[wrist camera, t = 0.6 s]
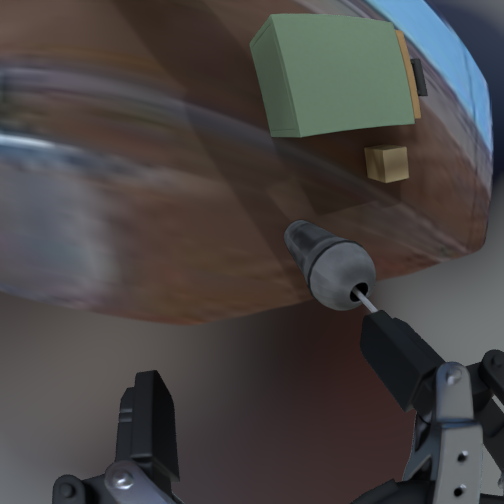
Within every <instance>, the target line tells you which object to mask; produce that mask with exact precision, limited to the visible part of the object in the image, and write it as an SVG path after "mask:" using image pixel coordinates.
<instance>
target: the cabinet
mask: <svg viewBox="0 0 504 504" xmlns="http://www.w3.org/2000/svg"><path fill="white" fill-rule="evenodd" d="M249 45H250V49H251V53H252V57H253V61H254V65H255V69H256V73H257V77H258V81H259V85H260V89H261V94H262V98H263V102H264V106H265V111H266V115H267V120H268V124H269V129H270V133H271V137H306V136H312V135H318V134H325V133H331V132H338V131H346V130H353V129H362V128H371V127H381V126H392V125H405V124H415V121H414V114H413V107H412V101H411V96H410V90H409V85H408V80H407V75H406V71H405V67H404V62H403V58H402V54H401V51H400V47H399V43H398V40H397V36H396V33H395V30H394V26H393V23H390V22H385V21H379V20H373V19H366V18H358V17H349V16H338V15H323V14H273V15H270V17H269V18H268V19H267V20H266V22H265V23H264V24H263V26H262V27H261V28H260V30H259V31H258V32H257V34H256V35H255V37H254V38H253V39H252V41H251V42H250V44H249Z"/></svg>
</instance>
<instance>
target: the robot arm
mask: <svg viewBox="0 0 504 504" xmlns="http://www.w3.org/2000/svg"><path fill="white" fill-rule="evenodd" d="M360 348H361V352H362V354H363V356H364V358H365V359H366V361H367V362H368V363H369V365H370V366H371V367H372V369H373V370H374V371H375V373H376V374H377V375H378V377H379V378H380V379H381V381H382V382H383V383H384V385H385V386H386V388H387V389H388V390H389V391H390V393H391V394H392V396H393V397H394V398H395V400H396V401H397V403H398V404H399V405H400V407H401V408H402V409H403V411H404V412H407V411H409V410H411V409H412V408H415V410H416V411H417V413H416V416H415V426H414V434H413V442H412V449H411V455H410V458H409V461H408V463H407V465H406V468H405V471H404V475H403V480H402V481H401V482H395V480H394V479H391V480H389V481H388V482H385V483H384V484H382V485H380V486H378V487H376V488H374V489H372V490H370V491H368V492H365V493H364V494H362V495H361V496H359V497H358V498H357V499H355V500H354V501H353V502H351V503H350V504H504V413H503V412H502V411H501V409H500V408H499V407H498V406H497V404H496V403H495V402H494V400H493V399H492V397H493V396H494V394H495V395H496V396H497V398H498V399H499V400H500V401H501V403H502V404H503V405H504V352H502V351H500V350H490V351H488V352H487V353H485V355H484V357H483V359H482V361H481V362H479V363H475V364H472V365H469V366H463V365H462V364H460V363H457V362H445V361H444V360H443V359H442V358H441V357H440V356H439V355H438V354H437V353H436V352H435V351H434V350H433V349H432V348H431V347H430V346H429V345H428V344H427V343H426V342H425V341H424V340H423V339H421V337H420V336H419V335H418V334H417V333H415V331H414V330H413V329H412V328H411V327H410V326H409V325H408V324H407V323H406V322H404V321H402V320H400V319H397V318H393V319H392V318H391V317H390V316H389V315H388V314H387V313H386V312H385V311H383V310H379V311H377V312H374V313H371V314H369V315H366V316H365V317H364V319H363V324H362V333H361V341H360ZM483 444H484V445H485V447H486V449H487V450H488V452H489V453H490V454H491V456H492V458H493V459H494V461H495V462H496V464H497V465H498V467H499V469H500V470H501V477H500V479H499V480H498V487H499V488H503V496H497V495H488V494H482V493H480V489H481V477H482V458H483ZM179 481H180V476H179V465H178V455H177V442H176V427H175V409H174V403H173V399H172V396H171V394H170V392H169V391H168V389H167V387H166V385H165V383H164V382H163V380H162V378H161V376H160V374H159V373H158V371H157V370H153V371H146V372H139V373H137V374H136V377H135V386H134V387H132V388H127V389H126V391H125V393H124V395H123V397H122V398H121V403H120V413H119V423H118V431H117V443H116V457H115V461H114V463H112V464H111V465H110V466H108V467H107V469H106V471H105V473H104V474H102V475H100V476H96V477H92V478H89V479H85V480H80V479H78V478H77V477H75V476H73V475H63V476H61V477H59V478H58V479H57V480H56V481H55V483H54V486H53V496H52V497H53V498H52V504H184V503H183V502H182V501H181V500H180V499H179V498H178V497H177V496H176V495H174V493H172V489H171V482H179Z"/></svg>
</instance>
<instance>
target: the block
mask: <svg viewBox="0 0 504 504" xmlns="http://www.w3.org/2000/svg"><path fill="white" fill-rule="evenodd" d="M364 151H365V158H366V167H367V176H368V178H371V179H374V180H378V181H381V182H384V183H388V182H393V181H397V180H402V179H406V178H409V173H408V159H407V149H406V147H403V146H396V145H388V144H386V145H379V146H372V147H366V148H364Z"/></svg>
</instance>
